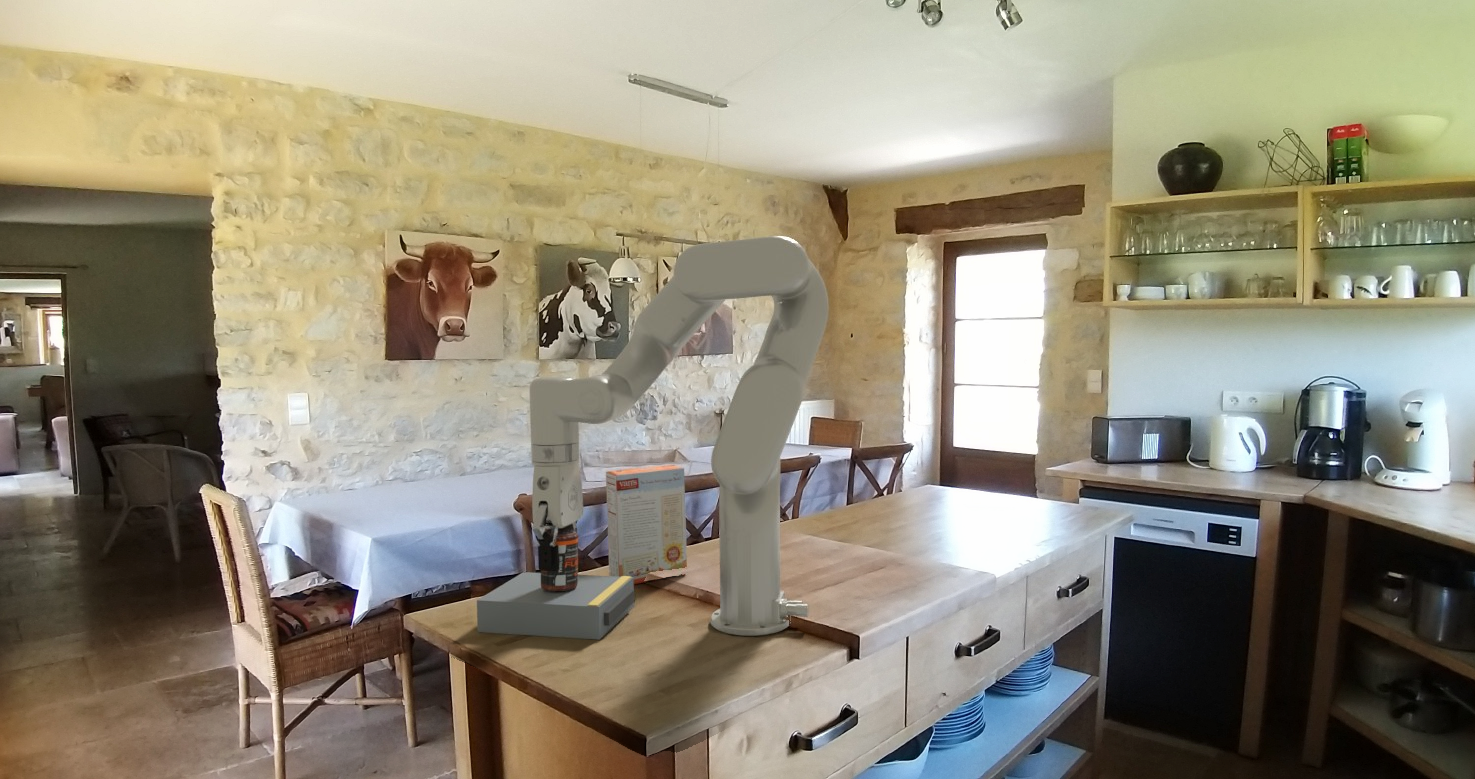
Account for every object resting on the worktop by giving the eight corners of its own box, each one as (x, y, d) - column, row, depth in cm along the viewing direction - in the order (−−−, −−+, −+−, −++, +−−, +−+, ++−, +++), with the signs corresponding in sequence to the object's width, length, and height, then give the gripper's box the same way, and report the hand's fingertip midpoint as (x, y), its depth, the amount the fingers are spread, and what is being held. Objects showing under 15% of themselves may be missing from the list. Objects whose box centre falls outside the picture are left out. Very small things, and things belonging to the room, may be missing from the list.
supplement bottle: (570, 593, 131) (570, 522, 131) (534, 591, 132) (534, 521, 132) (583, 583, 137) (583, 515, 137) (549, 581, 138) (548, 514, 138)
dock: (638, 606, 141) (637, 576, 140) (604, 639, 125) (603, 605, 125) (524, 600, 145) (523, 570, 145) (477, 631, 129) (476, 598, 129)
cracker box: (674, 568, 164) (672, 463, 163) (688, 576, 159) (686, 467, 158) (607, 579, 157) (604, 469, 156) (619, 587, 152) (616, 473, 151)
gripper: (554, 462, 124) (558, 580, 125) (597, 447, 141) (599, 551, 142) (508, 461, 126) (511, 578, 127) (555, 447, 143) (558, 550, 144)
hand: (558, 563), depth 135 cm, fingers open, 6 cm apart
